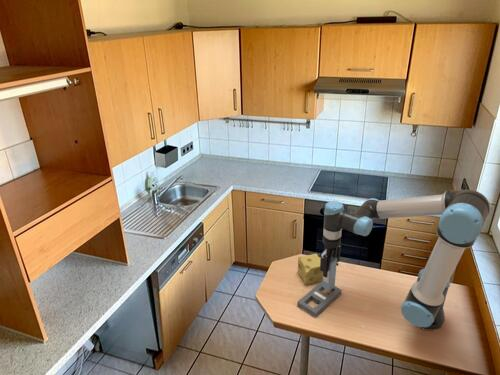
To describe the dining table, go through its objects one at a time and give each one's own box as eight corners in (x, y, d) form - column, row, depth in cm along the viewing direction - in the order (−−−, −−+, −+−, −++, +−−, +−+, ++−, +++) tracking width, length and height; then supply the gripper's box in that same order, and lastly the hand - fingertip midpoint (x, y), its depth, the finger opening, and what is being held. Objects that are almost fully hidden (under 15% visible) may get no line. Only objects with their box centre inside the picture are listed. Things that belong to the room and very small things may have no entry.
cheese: (304, 286, 180) (305, 269, 176) (296, 271, 189) (297, 255, 185) (324, 281, 183) (326, 265, 178) (315, 267, 192) (316, 252, 187)
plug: (334, 286, 173) (337, 258, 166) (329, 291, 170) (331, 262, 163) (327, 282, 175) (329, 254, 168) (322, 286, 173) (323, 258, 166)
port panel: (341, 293, 175) (341, 289, 174) (315, 317, 162) (315, 313, 161) (323, 283, 181) (323, 279, 180) (297, 305, 169) (297, 301, 168)
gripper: (335, 224, 168) (332, 266, 178) (312, 240, 157) (310, 284, 168) (350, 230, 163) (346, 273, 174) (327, 247, 153) (324, 292, 163)
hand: (329, 278), depth 171 cm, fingers closed on plug, 4 cm apart
